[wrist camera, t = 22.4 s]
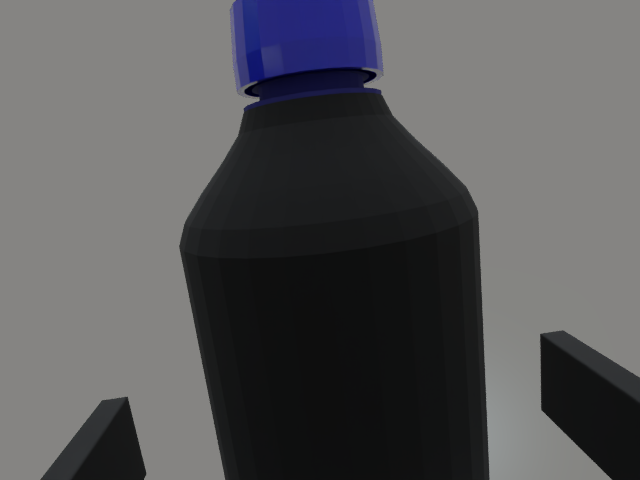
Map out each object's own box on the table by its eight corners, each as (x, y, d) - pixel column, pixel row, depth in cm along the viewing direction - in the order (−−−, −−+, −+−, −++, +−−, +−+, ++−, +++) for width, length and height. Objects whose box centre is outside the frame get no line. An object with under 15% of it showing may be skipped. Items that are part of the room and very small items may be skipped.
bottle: (269, 931, 13) (40, -49, 7) (293, 620, 21) (197, 62, 16) (550, 920, 12) (541, -125, 7) (459, 607, 21) (422, 31, 15)
